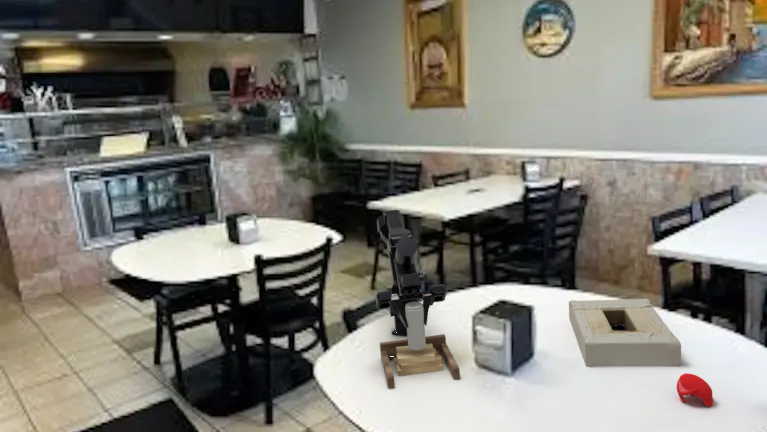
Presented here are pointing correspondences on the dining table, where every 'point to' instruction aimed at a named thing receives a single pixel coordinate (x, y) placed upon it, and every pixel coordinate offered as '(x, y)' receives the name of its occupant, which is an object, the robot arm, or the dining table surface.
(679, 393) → the red curved shell piece
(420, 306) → the beverage can
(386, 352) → the offcut rack
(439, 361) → the offcut stack
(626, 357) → the box
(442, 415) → the dining table surface
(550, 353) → the dining table surface
